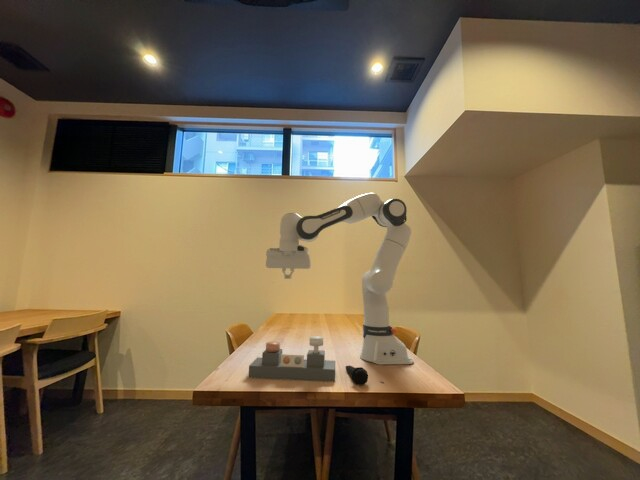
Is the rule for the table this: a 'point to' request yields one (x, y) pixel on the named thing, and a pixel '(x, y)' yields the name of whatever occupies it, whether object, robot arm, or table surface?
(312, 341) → the grey button
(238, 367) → the table surface
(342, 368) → the table surface
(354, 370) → the microphone
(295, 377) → the button console
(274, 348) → the terracotta button
